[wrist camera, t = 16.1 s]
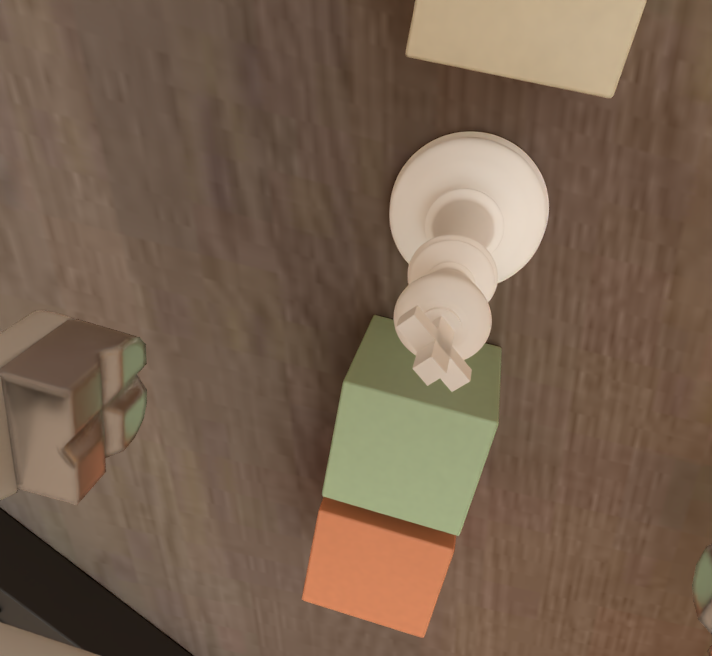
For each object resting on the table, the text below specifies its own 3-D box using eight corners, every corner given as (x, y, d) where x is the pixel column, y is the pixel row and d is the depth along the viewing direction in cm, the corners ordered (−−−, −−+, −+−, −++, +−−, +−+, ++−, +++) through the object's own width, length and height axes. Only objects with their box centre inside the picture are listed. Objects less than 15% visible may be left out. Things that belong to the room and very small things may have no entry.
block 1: (373, 313, 22) (342, 381, 18) (502, 346, 22) (499, 423, 18) (352, 416, 24) (320, 496, 20) (468, 448, 24) (459, 537, 20)
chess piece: (484, 95, 18) (456, 176, 9) (581, 225, 19) (635, 406, 11) (359, 198, 20) (244, 340, 12) (452, 310, 21) (409, 517, 13)
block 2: (350, 428, 25) (318, 510, 21) (464, 460, 24) (454, 550, 20) (332, 512, 27) (301, 600, 23) (437, 543, 26) (423, 639, 22)
